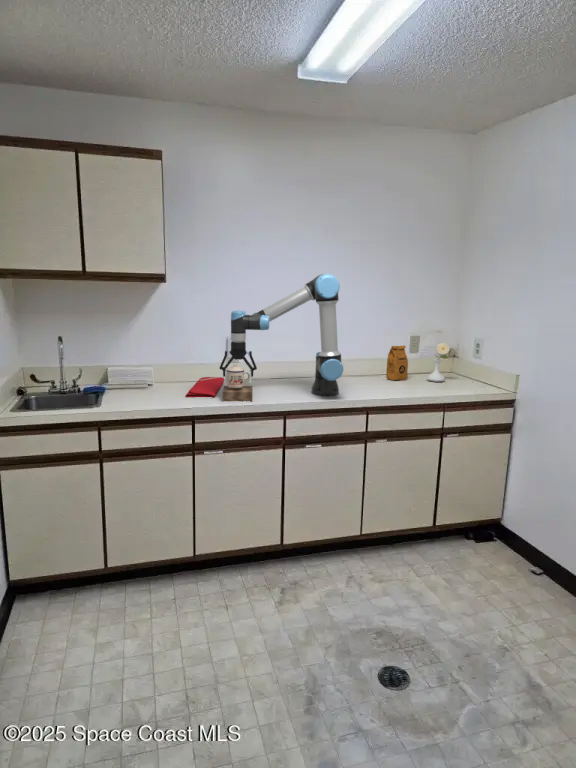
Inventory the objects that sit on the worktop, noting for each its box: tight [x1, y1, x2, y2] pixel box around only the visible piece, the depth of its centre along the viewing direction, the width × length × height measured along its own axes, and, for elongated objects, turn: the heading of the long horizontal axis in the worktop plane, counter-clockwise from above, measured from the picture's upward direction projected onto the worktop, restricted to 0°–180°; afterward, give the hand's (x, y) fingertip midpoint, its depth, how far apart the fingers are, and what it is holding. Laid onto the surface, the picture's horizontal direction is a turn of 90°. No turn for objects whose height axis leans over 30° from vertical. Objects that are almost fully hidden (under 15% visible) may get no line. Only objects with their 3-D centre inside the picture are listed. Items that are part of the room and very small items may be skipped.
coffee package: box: [385, 345, 409, 381], centre depth 325 cm, size 10×12×22 cm
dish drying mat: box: [185, 376, 225, 399], centre depth 286 cm, size 16×41×4 cm, turn 0°
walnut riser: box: [222, 385, 254, 403], centre depth 266 cm, size 15×15×5 cm
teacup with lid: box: [226, 363, 250, 388], centre depth 264 cm, size 12×9×12 cm
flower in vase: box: [426, 342, 451, 383], centre depth 323 cm, size 13×11×25 cm
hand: (238, 382), depth 265 cm, fingers closed on teacup with lid, 12 cm apart
